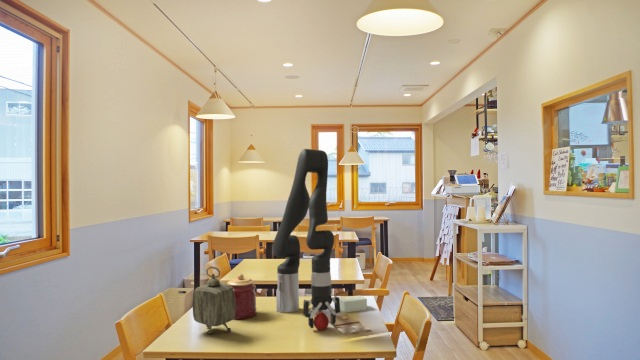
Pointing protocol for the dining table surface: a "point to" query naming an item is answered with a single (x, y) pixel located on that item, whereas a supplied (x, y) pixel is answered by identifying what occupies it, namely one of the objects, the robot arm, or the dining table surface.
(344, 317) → the board
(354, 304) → the block
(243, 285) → the canister
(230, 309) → the tabletop clock
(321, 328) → the onion
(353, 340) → the dining table surface
